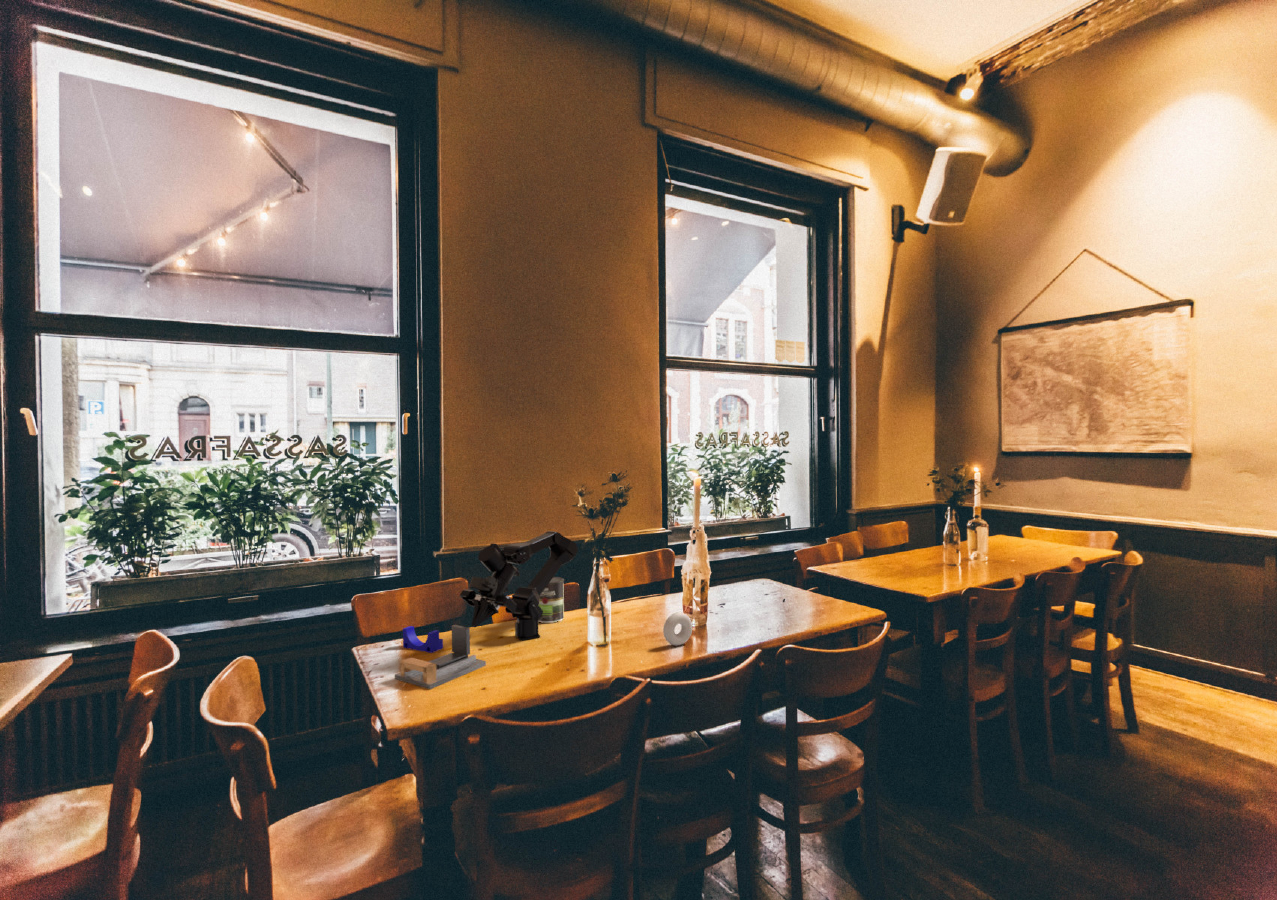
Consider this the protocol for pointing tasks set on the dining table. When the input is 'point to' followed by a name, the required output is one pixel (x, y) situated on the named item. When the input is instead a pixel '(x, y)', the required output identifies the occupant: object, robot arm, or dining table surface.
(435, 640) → the blue saddle bracket
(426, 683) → the rail base
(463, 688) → the dining table surface
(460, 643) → the metal angle bracket
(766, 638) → the dining table surface
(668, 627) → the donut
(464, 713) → the dining table surface
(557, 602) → the coffee can
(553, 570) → the robot arm
